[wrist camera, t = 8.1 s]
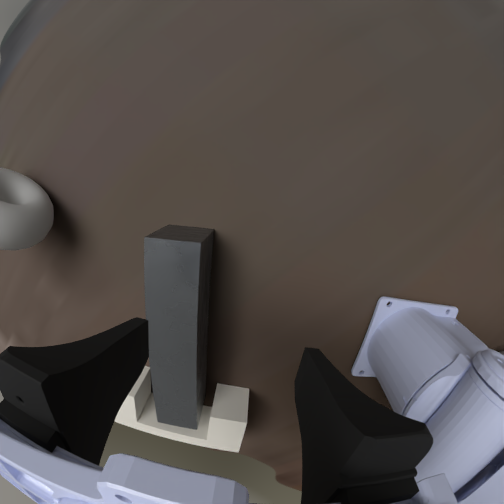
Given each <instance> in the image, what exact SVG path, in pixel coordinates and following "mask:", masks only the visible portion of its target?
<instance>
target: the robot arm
mask: <svg viewBox="0 0 504 504" xmlns="http://www.w3.org/2000/svg"><path fill="white" fill-rule="evenodd" d="M388 302H390V304H389V305H387V303H388ZM447 310H448V311H447ZM446 311H447V312H446ZM457 313H458V309H457V308H456V307H454V306H447V305H440V304H433V303H425V302H419V301H412V300H405V299H398V298H392V297H385V296H384V297H381V298H380V299H379V300H378V302H377V305H376V308H375V311H374V314H373V317H372V319H371V322H370V325H369V327H368V330H367V333H366V335H365V338H364V340H363V343H362V346H361V348H360V350H359V353H358V355H357V358H356V360H355V362H354V365H353V367H352V369H351V373H352V375H353V376H364V377H377V379H378V381H379V383H380V385H381V387H382V389H383V391H384V393H385V395H386V397H387V399H388V401H389V403H390V405H391V407H392V409H393V411H392V410H390V409H388V408H386V407H384V406H382V405H380V404H379V403H377V402H375V401H374V400H372V399H371V398H369V397H368V396H367V395H365V394H364V393H362V392H361V391H360V390H359V389H357V388H356V387H355V386H354V385H353V384H352V383H350V382H349V381H348V380H347V379H346V378H345V377H344V376H343V375H342V374H341V373H340V372H339V371H338V370H337V369H336V368H335V367H334V366H333V364H332V363H331V362H330V361H329V360H328V359H327V358H326V357H325V356H324V354H323V353H322V352H321V351H320V350H319V349H315V348H305V350H304V353H303V357H302V360H301V363H300V366H299V369H298V373H297V376H296V379H295V402H296V408H297V415H298V420H299V426H300V432H301V439H302V498H301V504H504V449H503V448H504V355H503V354H501V353H499V352H497V351H495V350H493V349H489V348H488V347H487V346H486V345H485V344H484V343H483V342H482V341H481V340H480V339H479V338H477V337H476V336H475V335H474V334H473V333H472V332H471V331H469V330H468V329H467V328H466V327H465V326H464V325H462V324H461V323H460V322H459V321H458V320H456V319H455V318H456V316H457ZM148 357H149V329H148V320H145V319H141V318H137V317H136V318H133V319H131V320H129V321H127V322H124V323H122V324H120V325H118V326H116V327H113V328H111V329H109V330H107V331H104V332H102V333H99V334H97V335H94V336H92V337H89V338H86V339H83V340H79V341H75V342H72V343H67V344H61V345H55V346H47V347H13V346H9V347H8V348H7V349H6V350H4V351H3V352H2V353H1V354H0V391H1V393H2V395H3V397H4V400H3V401H2V402H1V403H0V475H1V476H3V477H4V478H5V479H6V480H7V481H9V482H10V483H11V484H12V485H14V486H15V487H16V488H17V489H19V490H20V491H21V492H23V493H24V494H25V495H27V496H28V497H29V498H31V499H32V500H33V501H35V502H36V503H38V504H254V503H248V501H249V494H248V491H247V488H246V487H244V486H243V485H241V484H239V483H238V482H236V481H234V480H232V479H228V478H224V477H221V476H217V475H211V474H206V473H200V472H195V471H190V470H186V469H181V468H177V467H173V466H169V465H165V464H161V463H158V462H154V461H151V460H147V459H144V458H141V457H137V456H133V455H128V454H124V453H120V454H116V455H111V456H110V457H109V459H108V461H107V463H106V465H105V467H104V468H103V467H100V466H99V463H100V459H101V456H102V453H103V450H104V447H105V444H106V441H107V438H108V436H109V433H110V430H111V428H112V425H113V423H114V421H115V418H116V416H117V414H118V411H119V409H120V408H121V406H122V404H123V402H124V401H125V399H126V397H127V396H128V394H129V392H130V391H131V389H132V388H133V386H134V384H135V383H136V381H137V380H138V378H139V376H140V375H141V373H142V371H143V369H144V367H145V364H146V362H147V359H148ZM361 370H363V371H362V372H360V371H361ZM502 449H503V450H502ZM501 450H502V451H501ZM500 451H501V452H500ZM499 452H500V453H499ZM498 453H499V454H498ZM497 454H498V455H497ZM489 462H490V463H489ZM488 463H489V464H488ZM487 464H488V465H487ZM486 465H487V466H486ZM485 466H486V467H485ZM484 467H485V468H484ZM483 468H484V469H483Z"/></svg>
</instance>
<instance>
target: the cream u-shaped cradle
mask: <svg viewBox="0 0 504 504" xmlns="http://www.w3.org/2000/svg"><path fill="white" fill-rule="evenodd" d="M248 401H249V388H243V387H236V386H231V385H225V384H220V383H217V387H216V392H215V396H214V401H213V406H212V407H209V406H204V405H203V408H202V412H201V417H200V421H199V425H198V429H197V430H195V429H189V428H184V427H178V426H174V425H169V424H164V423H160V422H158V421H157V415H156V409H155V402H154V395H153V393H151V371H150V367H147V366H145V367H144V369H143V371H142V373H141V375H140V376H139V378H138V380H137V381H136V383H135V384H134V386H133V388H132V389H131V391H130V392H129V394H128V396H127V397H126V399H125V401H124V402H123V404H122V406H121V408H120V409H119V411H118V414H117V416H116V418H115V422H118V423H120V424H123V425H126V426H129V427H132V428H135V429H138V430H141V431H144V432H148V433H151V434H154V435H158V436H161V437H165V438H169V439H173V440H177V441H181V442H185V443H189V444H194V445H199V446H204V447H209V448H214V449H220V450H226V451H232V452H239V449H240V445H241V442H242V439H243V435H244V432H245V428H246V425H247V416H248Z"/></svg>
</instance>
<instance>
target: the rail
mask: <svg viewBox="0 0 504 504" xmlns="http://www.w3.org/2000/svg"><path fill="white" fill-rule="evenodd" d="M213 238H214V229H208V228H198V227H188V226H178V225H167V226H165V227H163V228H161V229H159V230H157V231H155V232H153V233H151V234H150V235H148V236H146V237H145V242H144V276H145V308H146V320H148V329H149V362H150V371H151V380H152V388H153V395H154V402H155V409H156V415H157V421H158V422H160V423H164V424H169V425H174V426H178V427H184V428H189V429H195V430H197V429H198V425H199V421H200V417H201V412H202V408H203V404H204V400H205V396H206V367H207V339H208V316H209V297H210V280H211V265H212V251H213Z"/></svg>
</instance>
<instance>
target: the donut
mask: <svg viewBox="0 0 504 504" xmlns="http://www.w3.org/2000/svg"><path fill="white" fill-rule="evenodd" d="M53 220H54V210H53V205H52V202H51V200H50V198H49V196H48V194H47V193H46V192H45V191H44V190H43V189H42V187H41V186H39V185H38V184H37V183H36V182H34V181H33V180H32V179H30V178H28V177H26V176H25V175H23V174H21V173H18V172H15V171H13V170H10V169H5V168H1V167H0V249H1V250H20V249H25V248H29V247H32V246H34V245H36V244H37V243H39V242H41V241H42V240H43V239H44V238H45V237H46V235H47V234H48V232H49V231H50V229H51V227H52V225H53Z"/></svg>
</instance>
